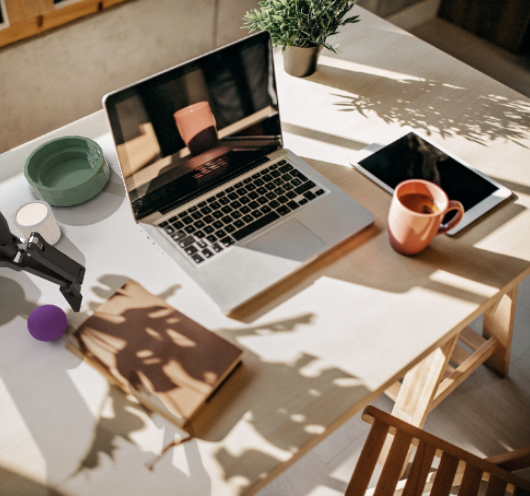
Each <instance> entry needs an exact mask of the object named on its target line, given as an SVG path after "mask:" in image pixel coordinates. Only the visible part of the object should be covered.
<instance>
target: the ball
mask: <svg viewBox="0 0 530 496" xmlns="http://www.w3.org/2000/svg"><path fill="white" fill-rule="evenodd" d="M26 326H27V331H28V333H29V335H30V336H31V337H32V338H34V339H35V340H37V341H40V342H43V343H44V342H47V343H48V342H52V341H55V340H57V339H59V338H60V337H61V336H63V334H64V333H65V332H66V331H67V327H68V317H67V314H66V313H65V311H64V310H63V309H62V308H61V307H59V305H55V304H49V303H47V304H42V305H38V306H37V307H35V308H34V309H33V310H32V311H31V312H30V314H29V315H28V318H27V321H26Z"/></svg>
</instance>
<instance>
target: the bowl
mask: <svg viewBox="0 0 530 496" xmlns="http://www.w3.org/2000/svg"><path fill="white" fill-rule="evenodd" d="M110 174H111V172H110V167H109V164H108V161H107V158H106V156H105V153H104V150H103V148H102V147H101V145H100V144H99V143H98V142H97V141H95V140H93V139H92V138H89V137H86V136H82V135H64V136H63V135H62V136H58V137H55V138H52V139H50V140H48V141H45V142H43V143H41V144H40V145H38V146H37V147H36V148H35V149H33V150H32V151H31V153H30V154H29V155H28V157H26V159H25V161H24V165H23V176H24V178H25V180H26V182H27V183H28V185H29V187H30V188H31V190H32V192H33V193H34V195H35V197H36V198H37V200H41V201H45V202H47V203H48V204H49V205H50V206H55V207H71V206H75V205H80V204H82V203H85V202H86V201H89V200H90V199H93V198H94V197H96V196H97V194H99V193H100V192H102V191H103V189H104V188H105V187H106V185H107V183H108V181H109V178H110Z"/></svg>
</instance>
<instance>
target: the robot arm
mask: <svg viewBox="0 0 530 496" xmlns="http://www.w3.org/2000/svg"><path fill="white" fill-rule="evenodd" d="M18 253H19V257H18V260H17V261H15V260H16V258H17V256H18ZM0 268H8V269H10V270H13V271H15V272H21V271H24V272H27V273H29V274H31V275H34V276H36V277H38V278H40V279H42V280H43V279H44V280H46V281H48V282H50V283H53V284H55V285H58V286H59V288H58V291H59V292H60V293H61V295H62V297H63V298H64V299H65V301H66V302H67V304H68V305H69V307H70V308H71V309H72V311H73V312H74V313H80V311H81V307H82V303H83V302H82V301H83V298H84V296H83V295H82V293H81V292H82V285H83V284H84V281H85V280H84V279H85V274H86V271H87V269H86V267H85V266H83V265H82V264H81V263H79V262H78V261H76V260H74V259H73V258H71V257H70V256H69V255H67V254H65V253H64V252H62V251H61V250H60V249H58V248H56V247H55V246H53V245H50V244H49V243H47V242H46V241H45V239H44V238H43V237H42V236H41V235H40V234H39V233H38V232H32V233H31V234H30V237H29V238H26V237H21V238H19V237H18V236H16V235H15V234H14V233H13V232H11V229H10V226H9V222H8V221H7V219H6V217H5V216H4V214H3V213H2V211H1V210H0Z"/></svg>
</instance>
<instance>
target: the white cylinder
mask: <svg viewBox="0 0 530 496" xmlns="http://www.w3.org/2000/svg"><path fill="white" fill-rule="evenodd" d="M11 220H12V224H13V225H14V226H15V227H16V228H17V229H18V230H19V232H20V233H21V234H22V235H23V236H24V238H29V237H30V234H31V233H32V232H38V233H39V234H40V235H41V236H42V237H43V238H44V239H45V241H46V242H47V243H49V244H50V245H52V246H53V245H55V244H56V243H57V242H59V240H60V238H61V234H62V233H61V229H60V226H59V223H58V222H57V219H56V217H55V214H54V212H53V210H52V207H51V205H50V204H48V203H47V202H45V201H41V200H39V199H33V200H28V201H26V202H24V203H22V204H21V205H19V206H18V207H17V208H16V209H15V210H14V211H13V214H12V217H11Z"/></svg>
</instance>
